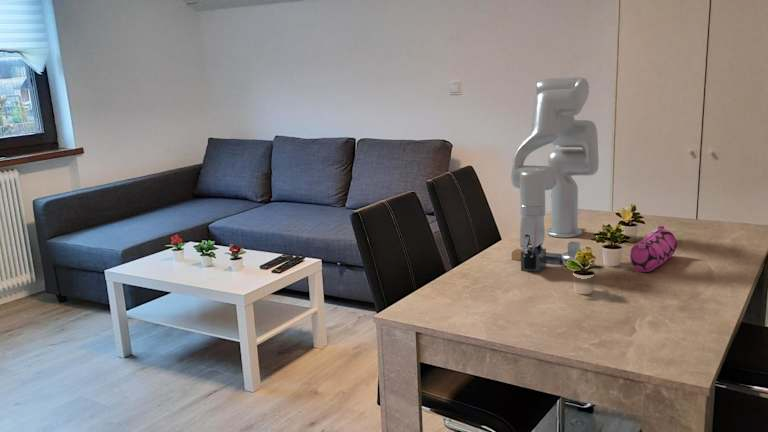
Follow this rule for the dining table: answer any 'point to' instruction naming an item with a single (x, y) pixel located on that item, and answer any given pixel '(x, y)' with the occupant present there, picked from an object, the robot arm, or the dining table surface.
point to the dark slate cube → (536, 260)
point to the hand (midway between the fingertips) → (533, 265)
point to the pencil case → (653, 250)
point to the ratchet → (554, 254)
